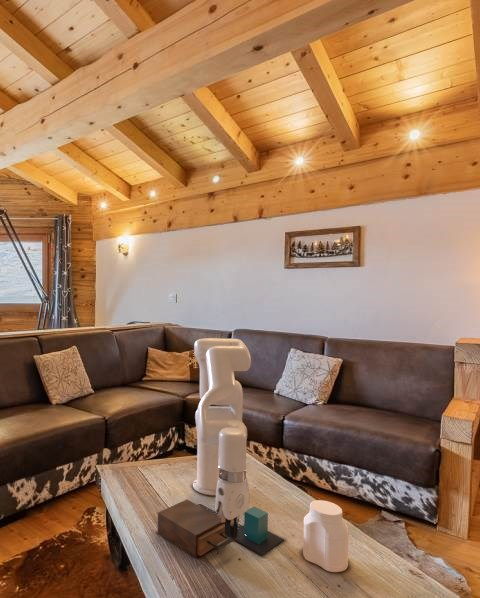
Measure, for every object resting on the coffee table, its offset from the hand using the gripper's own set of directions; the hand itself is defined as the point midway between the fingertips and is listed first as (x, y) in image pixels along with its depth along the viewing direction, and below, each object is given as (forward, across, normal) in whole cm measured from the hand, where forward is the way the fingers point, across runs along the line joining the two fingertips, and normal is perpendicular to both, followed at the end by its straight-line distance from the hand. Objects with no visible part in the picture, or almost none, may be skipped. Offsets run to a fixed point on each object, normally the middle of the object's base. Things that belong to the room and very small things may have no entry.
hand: (231, 535), depth 120 cm
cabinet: (+7, 0, +14) cm, 16 cm away
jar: (+7, +22, -16) cm, 28 cm away
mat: (+7, +14, +2) cm, 16 cm away
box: (+7, +14, +1) cm, 16 cm away
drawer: (+6, 0, +11) cm, 12 cm away
